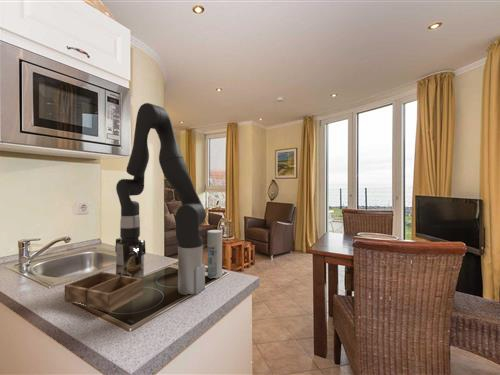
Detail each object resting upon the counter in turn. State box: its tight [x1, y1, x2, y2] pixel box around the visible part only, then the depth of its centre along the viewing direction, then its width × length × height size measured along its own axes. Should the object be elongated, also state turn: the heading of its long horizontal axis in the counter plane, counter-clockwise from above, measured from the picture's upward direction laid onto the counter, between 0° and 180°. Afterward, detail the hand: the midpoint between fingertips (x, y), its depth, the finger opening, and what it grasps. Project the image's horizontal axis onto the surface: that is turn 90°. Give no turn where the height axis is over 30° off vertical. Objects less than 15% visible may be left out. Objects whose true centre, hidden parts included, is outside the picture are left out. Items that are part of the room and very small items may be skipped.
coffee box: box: [115, 239, 145, 279], centre depth 104 cm, size 9×6×16 cm
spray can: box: [207, 229, 223, 279], centre depth 108 cm, size 6×6×20 cm
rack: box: [64, 271, 144, 313], centre depth 87 cm, size 21×14×6 cm, turn 70°
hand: (130, 263), depth 104 cm, fingers open, 8 cm apart
